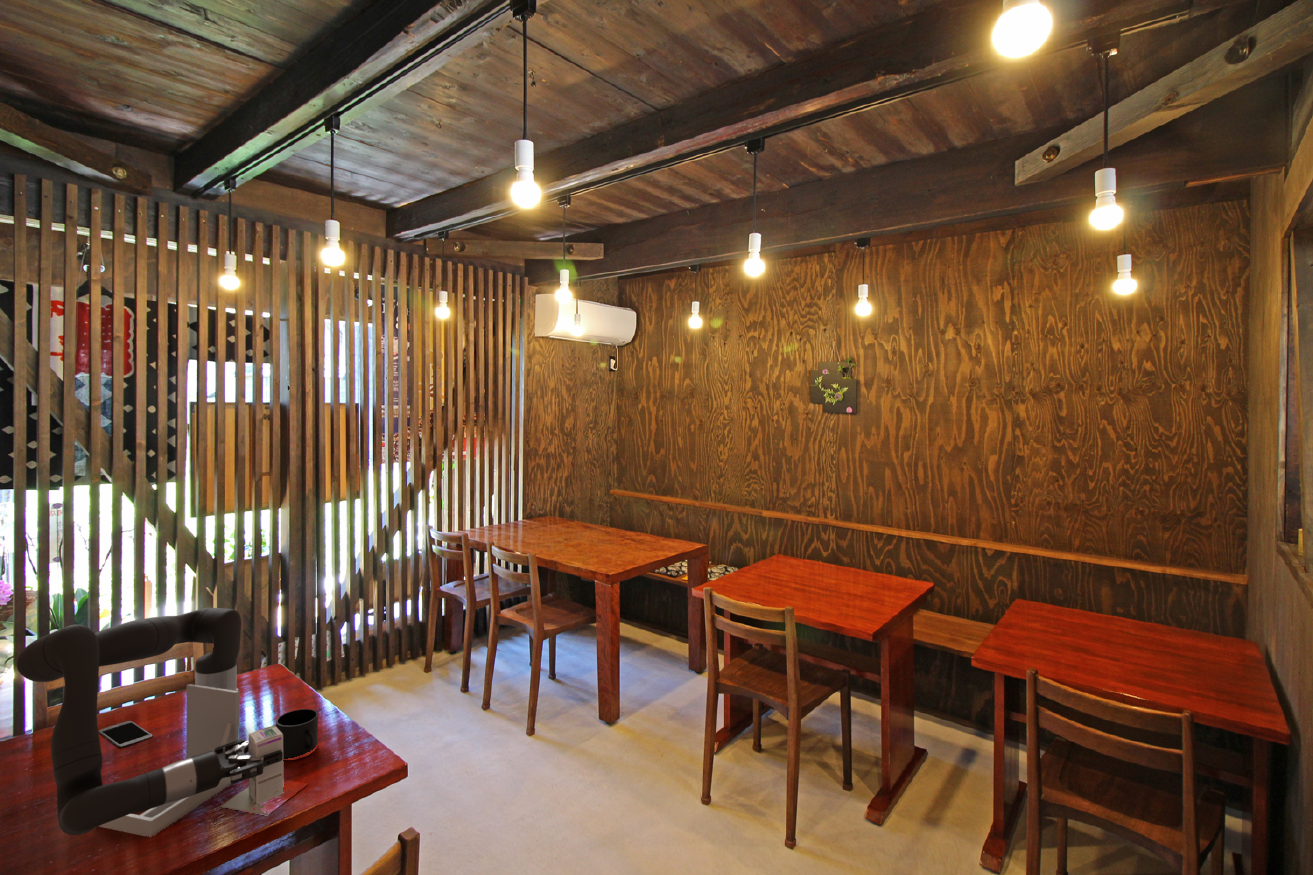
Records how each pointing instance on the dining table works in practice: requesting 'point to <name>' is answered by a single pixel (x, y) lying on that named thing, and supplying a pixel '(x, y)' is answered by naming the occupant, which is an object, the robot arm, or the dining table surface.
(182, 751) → the dining table surface
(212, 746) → the white l-shaped holder
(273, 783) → the syrup box
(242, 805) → the rubber mat
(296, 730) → the mug
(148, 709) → the dining table surface
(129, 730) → the smartphone
